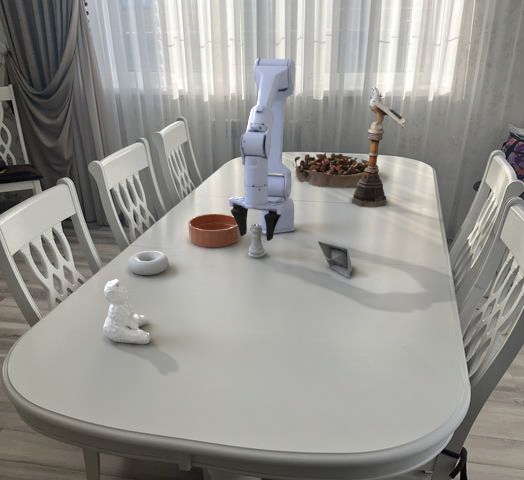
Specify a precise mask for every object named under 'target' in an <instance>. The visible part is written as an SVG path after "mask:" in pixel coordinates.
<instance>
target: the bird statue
mask: <svg viewBox="0 0 524 480" xmlns="http://www.w3.org/2000/svg"><path fill="white" fill-rule="evenodd" d="M371 91H372V93H373V95H372V96H370V97H369V98H370V101H369V104H368V106H369V108H370V110H371V111H372V112H374V114H375V119H376V121H373V122H372V123H371V125H370V128H369V129H368V130H367V132H368V137H367V138H368V140H369V143H370V146H369V153H368V156H369V158H368V161H369V165H368V167H367V168H366V169H365V170H364V171H365V172H364V174H363V176H362V178H361V179H360V180H359V182H358V184H357V187H355V190H354V192H353V194H352V198H351V204H355V205H357V206H359V207H364V208H366V207H367V208H377V207H381V206H386V204H387V195H386V194H385V191H384V190H385V189H384V184H383V180H381V177H380V174H379V173H380V169H378V168H377V167H376V165H378V164H377V163H378V162H377V161H378V156H379V146H380V145H379V144H380V142H381V140H383V137H384V136H383V135H384V134H385V130H384V128H383V127H384V125H383V121H384V119H385V116H389V117H390V118H391V119H392V120H394V121H395V122H396V123H397V124H398V125H399V127H401V129H405V124H406V122H407V121H406V119H405V118H404V116H403V114H401V113H399V112H398V111H396V110H395V109H394V108H393V107H390V108H389V107H388V106H387V105H386V104H384V103H383V102H382V98H383V95H382V91H379V89H378V88H377V87H375V86H372V87H371Z"/></svg>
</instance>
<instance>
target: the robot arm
mask: <svg viewBox="0 0 524 480" xmlns="http://www.w3.org/2000/svg"><path fill="white" fill-rule="evenodd" d="M253 81H254V83H255V85H256V87H257V90H258V94H257V102H256V105H255V106H253V107H252V108H251V110H250V114H249V118H248V123H247V126H246V131H245V132H244V133H242V134H241V137H240V142H239V143H240V144H239V145H240V146H239V147H240V155H241V164H242V165H243V178H244V179H243V184H244V185H243V187H244V188H243V189H244V197H238V196H232V197H230V198H228V206H229V207H232V208H231V209H230V213H231V216H234V218H235V220H236V222H237V225H238V228H239V231H240V237H244V236H245V235H247V232H248V212H249V210H257V211H259V223H255V224H256V226H258V224H260V225H261V228H262V229H263V230H262V231H261V234H262V235H265V239H266V241H267V242H270V241H272V240H273V239H274V234H280V233H288V232H294V231H295V230H296V229H295V204H294V200H293V199H292V197H290V196H291V193H292V184H293V183H292V171H291V169H290V168H289V167H288V166H287V165H286V164H284V163H283V152H284V151H283V150H284V135H285V134H284V132H285V115H286V105H287V99H288V98H289V97H290V96H293V95H294V91H295V85H296V83H295V82H296V62H295V60H294V59H293V58H261V57H258V58H256V60H255V61H254V65H253Z"/></svg>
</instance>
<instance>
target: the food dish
mask: <svg viewBox="0 0 524 480" xmlns="http://www.w3.org/2000/svg"><path fill="white" fill-rule="evenodd" d="M315 156H316V157H315ZM315 156H310V154H309V153H308V154H305V155H304V159H301V156H296V157H294V162H293V161H291V164H292V166H293V167H294V168H295V172H296V173H295V175H296V178H297V180H298V181H299V182H301V183H303V181H304V182H308V183H309V184H310V185H312V186H316V187H325V188H357V184H358V182H359V180H360V179H361V178H362V176H363V174H364V172H365V171H364V170H365V169H366V168H367V167H368V165H369V160H366V159H360V161H361V162H358V161H357V160H359V159H358V157H354V156H348V155H344V154H343V153H339V154H335V153H334V152H333V153H331V154H330V156H329V157H327V152H324V153H317V154H315ZM300 159H301V160H300ZM299 160H300V161H299ZM298 161H299V165H297V162H298ZM294 164H295V165H294ZM376 167H377V168H378V170H380V167H379V165H378V164H376Z"/></svg>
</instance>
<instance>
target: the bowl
mask: <svg viewBox="0 0 524 480" xmlns="http://www.w3.org/2000/svg"><path fill="white" fill-rule="evenodd" d="M187 227H188V236H189V237H188V239H189V241H190V242H191V243H192V244H194V245H197V246H200V247H206V248H222V247H227V246H230V245H233V244H235V243H237V242H238V241H240V239H241V235H240V231H239V228H238V225H237V222H236V220H235V218H234V216H233V215H232V214H226V213H207V214H206V213H205V214H201V215H197V216H194V217H192V218H190V219H189V220H188V226H187Z"/></svg>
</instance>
